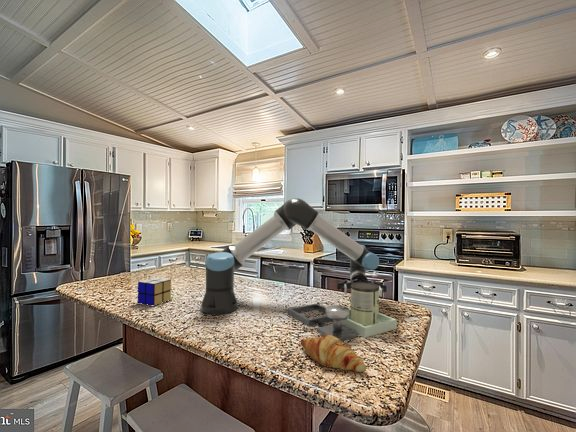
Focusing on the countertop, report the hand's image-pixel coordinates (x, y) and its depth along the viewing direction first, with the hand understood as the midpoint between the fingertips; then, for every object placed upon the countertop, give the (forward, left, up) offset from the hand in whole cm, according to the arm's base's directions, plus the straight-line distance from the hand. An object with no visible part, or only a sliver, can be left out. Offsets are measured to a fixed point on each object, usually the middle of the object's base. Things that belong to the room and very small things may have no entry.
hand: (363, 292), depth 113 cm
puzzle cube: (-68, +62, -11) cm, 93 cm away
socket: (-15, +12, -11) cm, 22 cm away
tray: (-4, -5, -11) cm, 12 cm away
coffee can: (-4, -5, -10) cm, 12 cm away
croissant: (-32, -19, -11) cm, 39 cm away
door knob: (-18, -3, -11) cm, 21 cm away
